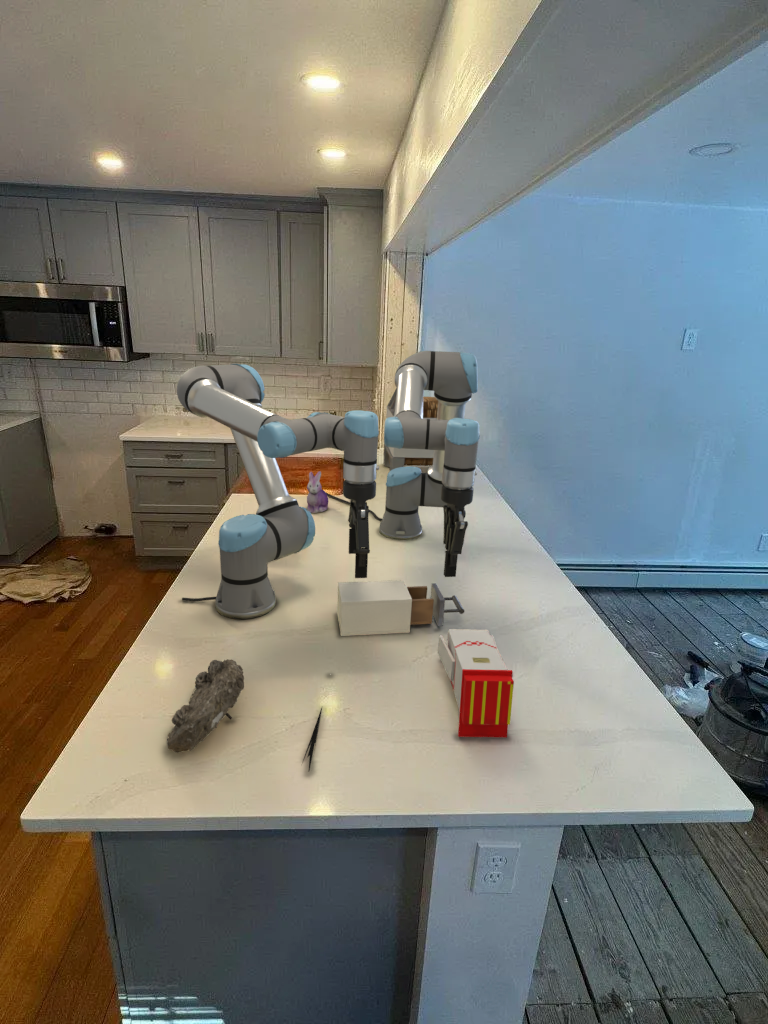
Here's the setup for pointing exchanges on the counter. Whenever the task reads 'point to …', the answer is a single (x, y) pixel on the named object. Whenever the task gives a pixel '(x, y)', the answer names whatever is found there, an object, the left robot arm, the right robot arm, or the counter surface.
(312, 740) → the feather
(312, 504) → the figurine
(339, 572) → the counter surface
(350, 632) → the cabinet
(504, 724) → the toy
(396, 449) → the transformer
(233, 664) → the fossil
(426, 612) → the drawer
